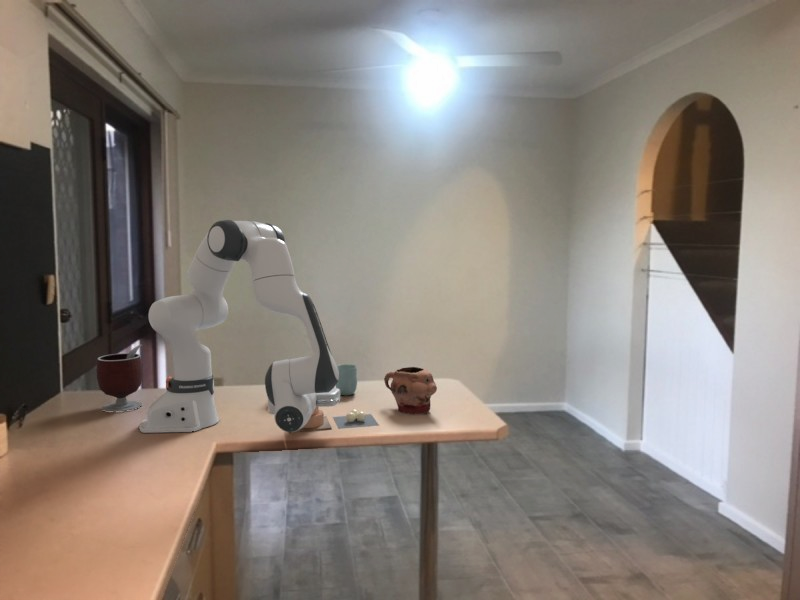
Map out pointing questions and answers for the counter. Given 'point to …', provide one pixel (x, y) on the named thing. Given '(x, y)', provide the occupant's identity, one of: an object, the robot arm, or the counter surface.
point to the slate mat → (355, 422)
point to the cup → (347, 379)
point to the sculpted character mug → (412, 389)
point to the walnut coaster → (323, 427)
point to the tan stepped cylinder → (315, 419)
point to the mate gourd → (120, 378)
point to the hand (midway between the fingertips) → (308, 390)
